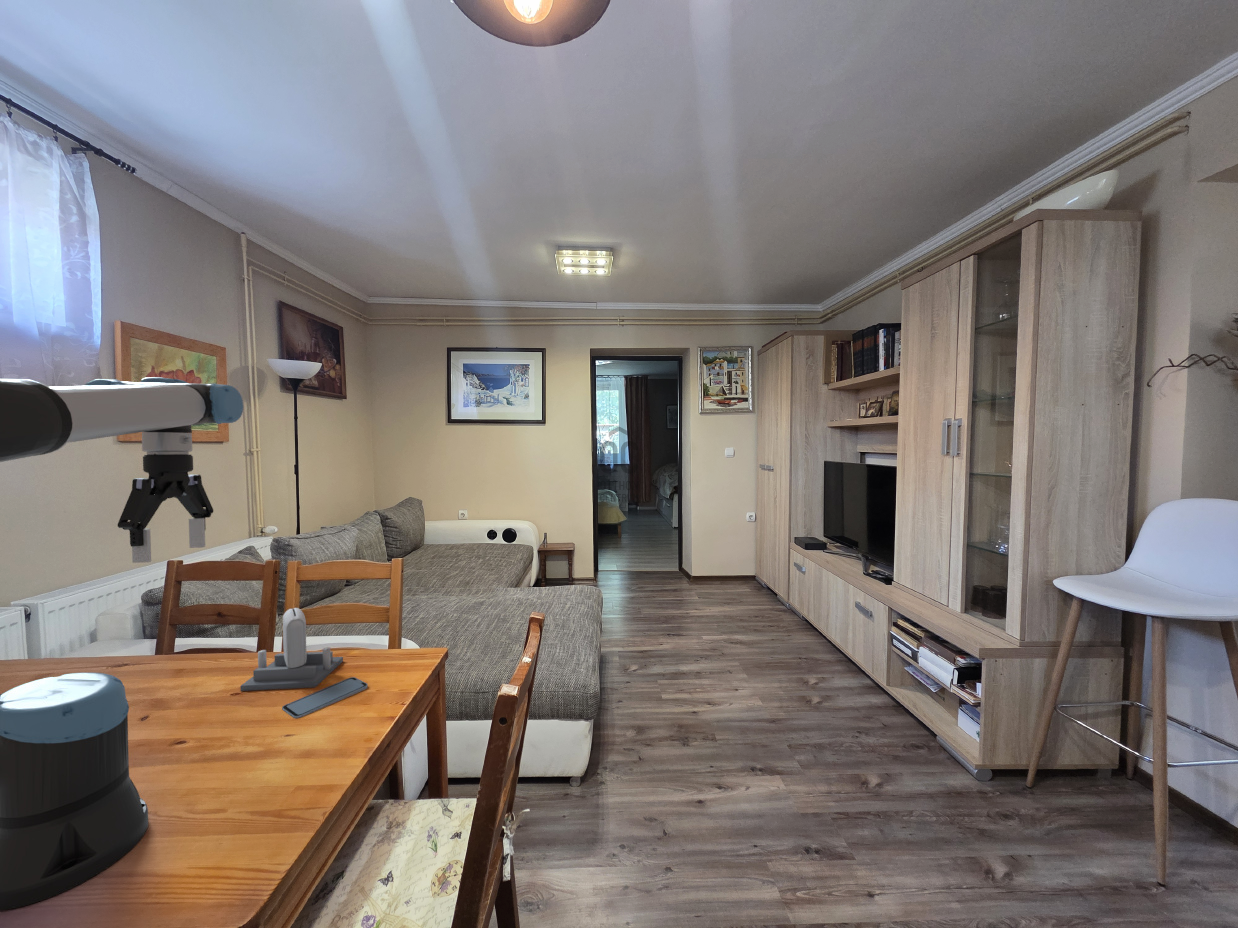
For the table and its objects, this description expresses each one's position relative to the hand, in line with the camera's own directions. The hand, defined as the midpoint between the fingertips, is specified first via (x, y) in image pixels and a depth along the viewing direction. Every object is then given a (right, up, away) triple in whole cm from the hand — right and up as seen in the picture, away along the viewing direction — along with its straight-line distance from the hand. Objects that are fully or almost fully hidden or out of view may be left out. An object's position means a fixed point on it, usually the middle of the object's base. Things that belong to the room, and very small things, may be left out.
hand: (171, 554), depth 97 cm
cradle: (+16, -32, +15) cm, 39 cm away
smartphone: (+30, -33, +5) cm, 45 cm away
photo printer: (+16, -29, +15) cm, 36 cm away
